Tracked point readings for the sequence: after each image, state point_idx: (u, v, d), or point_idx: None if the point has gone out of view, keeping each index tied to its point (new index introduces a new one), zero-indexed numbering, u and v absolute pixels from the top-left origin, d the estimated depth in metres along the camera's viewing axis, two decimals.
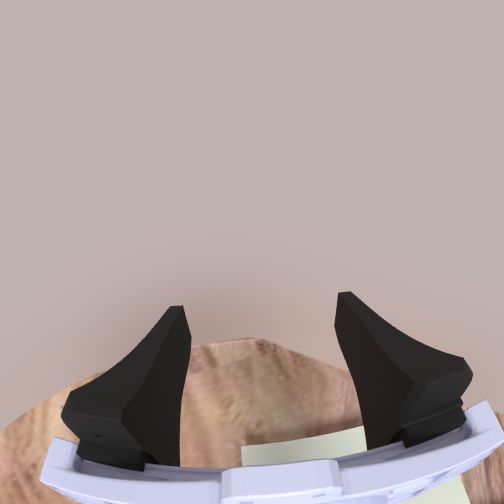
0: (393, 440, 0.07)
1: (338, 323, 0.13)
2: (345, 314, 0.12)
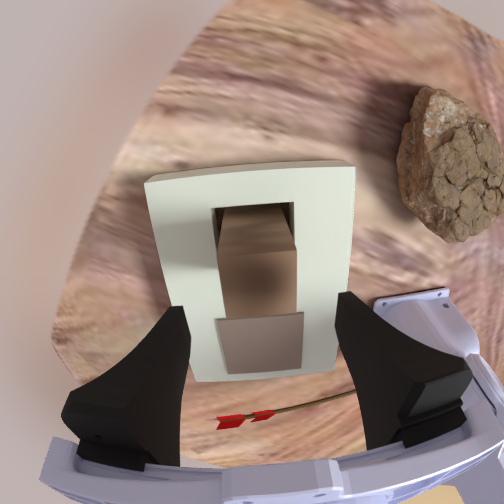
0: (393, 440, 0.07)
1: (338, 323, 0.13)
2: (345, 314, 0.12)
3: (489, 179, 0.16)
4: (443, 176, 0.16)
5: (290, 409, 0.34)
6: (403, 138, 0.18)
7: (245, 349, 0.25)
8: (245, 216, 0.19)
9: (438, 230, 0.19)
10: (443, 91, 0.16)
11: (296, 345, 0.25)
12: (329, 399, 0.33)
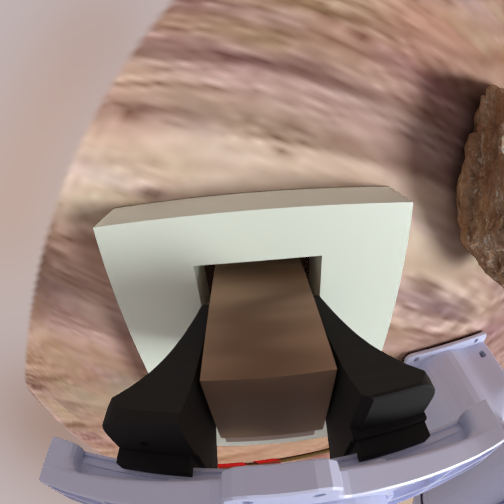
0: (350, 451, 0.07)
1: None
2: None
3: None
4: None
5: (297, 458, 0.27)
6: (467, 155, 0.12)
7: None
8: (247, 278, 0.13)
9: (499, 277, 0.13)
10: None
11: None
12: None
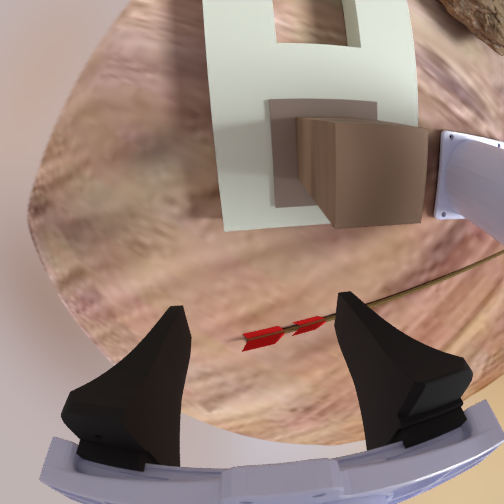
0: (393, 440, 0.07)
1: (338, 323, 0.13)
2: (345, 314, 0.12)
3: None
4: None
5: None
6: None
7: None
8: None
9: (487, 35, 0.11)
10: None
11: None
12: (394, 296, 0.26)
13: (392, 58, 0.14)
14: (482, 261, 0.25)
